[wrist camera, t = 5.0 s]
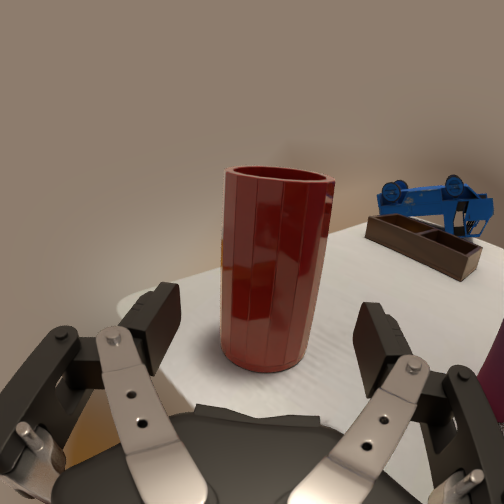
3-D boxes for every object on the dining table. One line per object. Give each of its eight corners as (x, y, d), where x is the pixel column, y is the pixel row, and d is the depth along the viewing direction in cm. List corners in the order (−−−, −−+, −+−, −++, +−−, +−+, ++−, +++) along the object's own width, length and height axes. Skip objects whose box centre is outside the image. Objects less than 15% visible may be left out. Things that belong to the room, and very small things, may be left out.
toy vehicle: (386, 181, 65) (393, 230, 67) (374, 184, 56) (381, 242, 58) (483, 172, 48) (488, 225, 51) (490, 173, 39) (495, 237, 42)
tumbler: (323, 352, 20) (357, 182, 16) (249, 385, 17) (266, 183, 12) (273, 311, 25) (288, 165, 20) (206, 331, 22) (206, 166, 17)
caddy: (393, 231, 50) (396, 213, 49) (476, 268, 36) (482, 247, 35) (364, 237, 45) (368, 216, 44) (460, 281, 32) (468, 257, 30)
